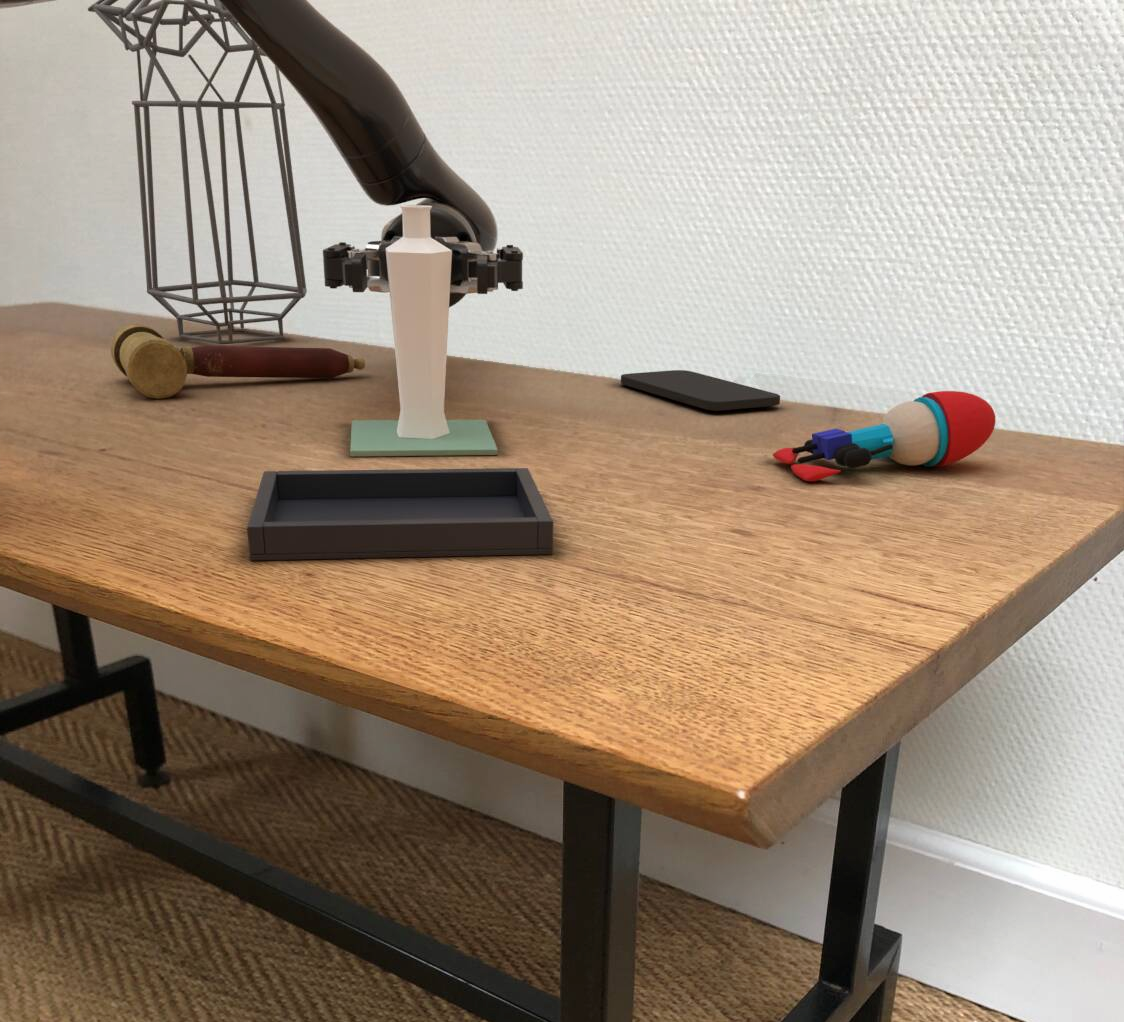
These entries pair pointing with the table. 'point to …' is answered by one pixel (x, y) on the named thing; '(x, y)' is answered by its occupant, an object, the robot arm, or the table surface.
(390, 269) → the perfume bottle
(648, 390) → the phone
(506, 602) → the table surface
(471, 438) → the mat
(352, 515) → the tray
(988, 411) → the toy figure
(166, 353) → the gavel
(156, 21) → the geometric lantern
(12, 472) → the table surface
